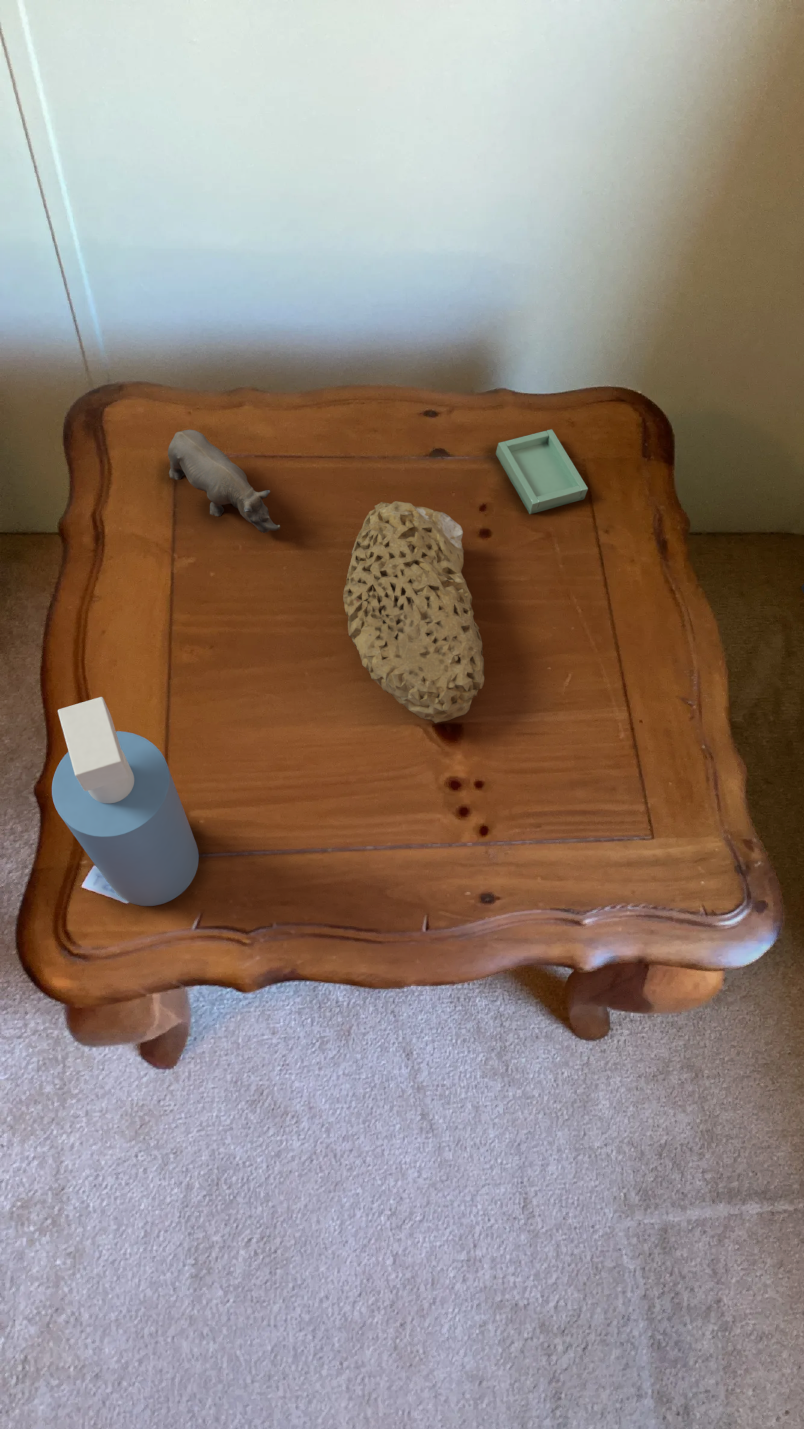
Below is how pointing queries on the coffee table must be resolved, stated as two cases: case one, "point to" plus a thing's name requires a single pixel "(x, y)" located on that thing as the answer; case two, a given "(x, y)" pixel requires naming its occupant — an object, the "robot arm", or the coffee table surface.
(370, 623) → the sponge
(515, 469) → the soap dish
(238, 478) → the rhino figurine
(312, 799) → the coffee table surface
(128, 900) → the spray bottle
